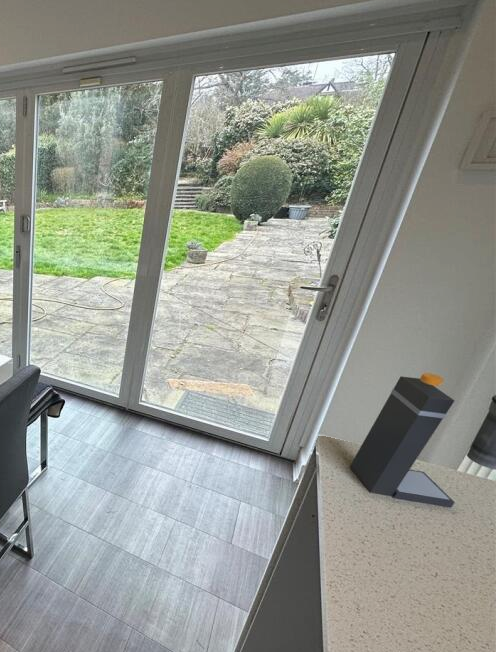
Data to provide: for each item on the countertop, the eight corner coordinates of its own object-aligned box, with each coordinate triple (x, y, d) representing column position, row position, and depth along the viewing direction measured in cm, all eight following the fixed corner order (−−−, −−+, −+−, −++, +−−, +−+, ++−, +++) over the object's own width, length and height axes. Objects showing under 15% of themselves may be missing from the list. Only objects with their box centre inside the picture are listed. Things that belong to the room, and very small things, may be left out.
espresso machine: (420, 476, 90) (482, 384, 80) (451, 507, 83) (525, 410, 72) (347, 465, 93) (398, 374, 82) (371, 494, 85) (430, 398, 75)
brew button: (433, 379, 78) (436, 374, 78) (444, 386, 76) (447, 381, 75) (416, 377, 79) (419, 372, 78) (426, 384, 77) (429, 379, 76)
